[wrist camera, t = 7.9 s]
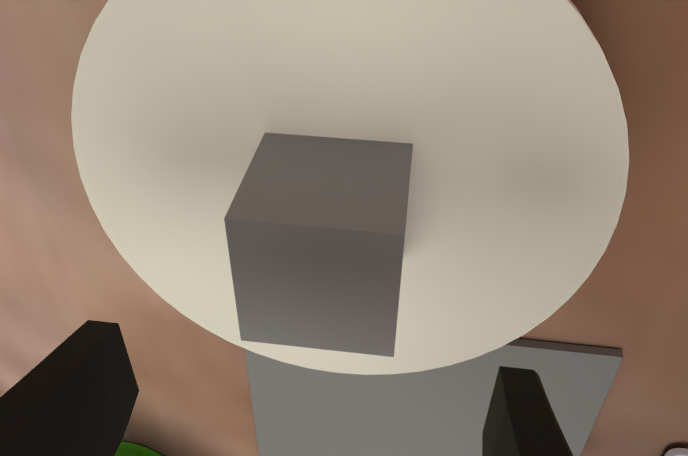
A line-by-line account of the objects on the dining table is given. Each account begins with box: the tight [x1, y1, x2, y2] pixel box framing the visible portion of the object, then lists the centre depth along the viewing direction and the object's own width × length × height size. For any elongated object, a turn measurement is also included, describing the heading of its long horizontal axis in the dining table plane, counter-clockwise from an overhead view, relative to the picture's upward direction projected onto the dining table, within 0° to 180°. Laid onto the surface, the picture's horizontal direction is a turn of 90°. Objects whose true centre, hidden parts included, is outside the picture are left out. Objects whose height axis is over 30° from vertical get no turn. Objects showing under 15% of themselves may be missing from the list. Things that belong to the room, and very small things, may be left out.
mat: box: [245, 339, 623, 456], centre depth 29 cm, size 15×15×1 cm
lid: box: [71, 0, 629, 375], centre depth 15 cm, size 14×14×4 cm
